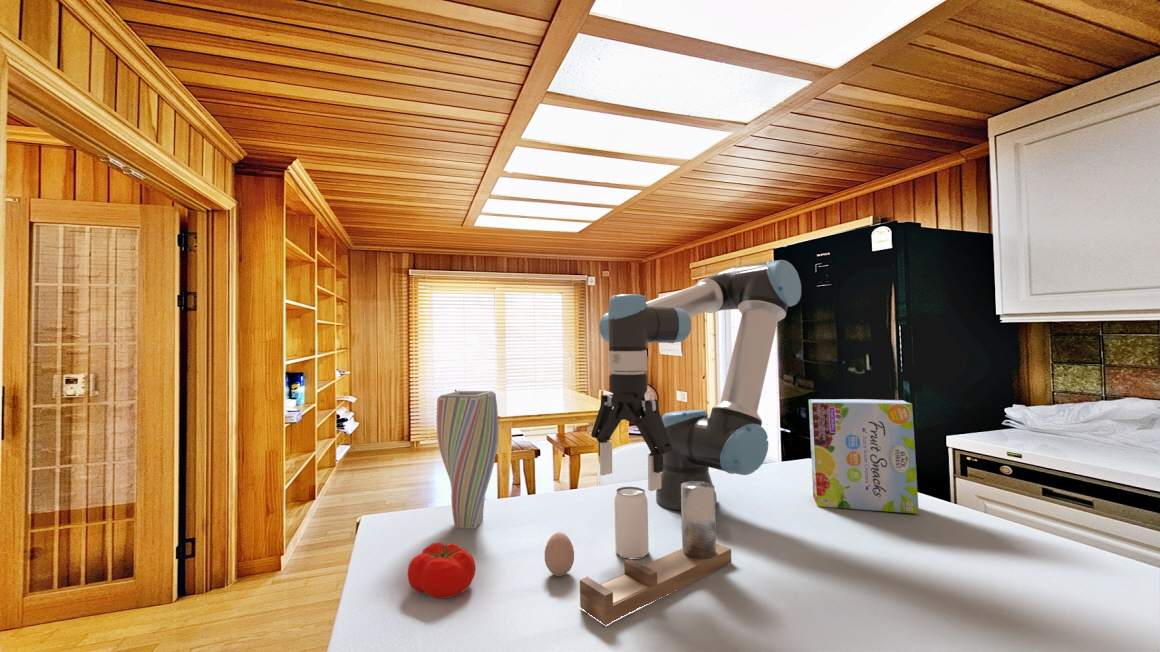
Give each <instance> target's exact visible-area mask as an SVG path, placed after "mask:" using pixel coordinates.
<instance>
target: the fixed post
mask: <svg viewBox="0 0 1160 652" xmlns="http://www.w3.org/2000/svg"><path fill="white" fill-rule="evenodd" d="M712 484H713V483H712ZM712 484H710V483H706V482H700V481H689V482H684V483H682V484H681V507H682V511H681V538H682V539H681V541H682V542H681V543H682V548H683V553H684V554H685V555H686V556H688V557H690V558H694V559H701V560H705V559H711V558H713V557H715V556H716V543H717V538H716V537H717V535H716V531H717V530H716V529H717V527H716V526H717V525H716V506H715V492H716V491H715V485H714V484H713V485H712ZM682 548H681V549H682Z"/></svg>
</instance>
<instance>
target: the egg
mask: <svg viewBox="0 0 1160 652" xmlns="http://www.w3.org/2000/svg"><path fill="white" fill-rule="evenodd" d="M574 561H575V550H574V545H573V544H572V541H571V539H570V538H569V536H568V535H567V534H565V533H563V532H558V531H557V532H556V533H554V534H552V535H551V536H550V537H549V539H548V541H547V543H546V545H545V548H544V562H545V565H546V567H547V569H548V571H549V572H550V573H551V574H552V575H554V576H557V577H563V576H565V575H566V574H567V573H569V572H570V570H571V569H572V567H573V564H574Z"/></svg>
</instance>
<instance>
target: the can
mask: <svg viewBox="0 0 1160 652" xmlns="http://www.w3.org/2000/svg"><path fill="white" fill-rule="evenodd" d="M648 515H649V505H648V498H647V495H646V490H645V489H644V488H642V487H639V486H631V485H630V486H621V487H618V488H616V494H615V497H614V541H615V553H616V554H617V555H618V554H619V555H620V556H619V555H618V556H619V557H621V556H622V557H621V558H623V557H625V558H624V559H626V558H640V559H642V558H641V557H643V556H645V555H646V556H647V555H648V554H649V516H648ZM646 556H645V557H646ZM643 558H644V557H643Z"/></svg>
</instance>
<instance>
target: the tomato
mask: <svg viewBox="0 0 1160 652" xmlns="http://www.w3.org/2000/svg"><path fill="white" fill-rule="evenodd" d="M475 575H476V562H475V560H474V557H473V556H472V554H470V553H469V552H468V551H467V550H466V549H464V548H463V547H460V546H459V545H458V544H456V543H450V544H447V543H446V544H444V543H442V542H434V543H432V544H430V545H428V546H427V547H425V548H424V549H423V550H422V551H421V553H420V554H417V555H416V556H414V557H412V559H411V561H410V563H409V564H408V567H407V579H408V583H409V585H410V586H411V588H412V589H414V590H415V591H417V592H419V593H423V594H426V595H428V596H430V597H432V598H436V599H447V598H452V597H454V596H457V595H460V594H462V593H463V592H465V591H466V590H467V589H468V588H469V587H470V586H471V584H472V582H473V580H474V578H475Z"/></svg>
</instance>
